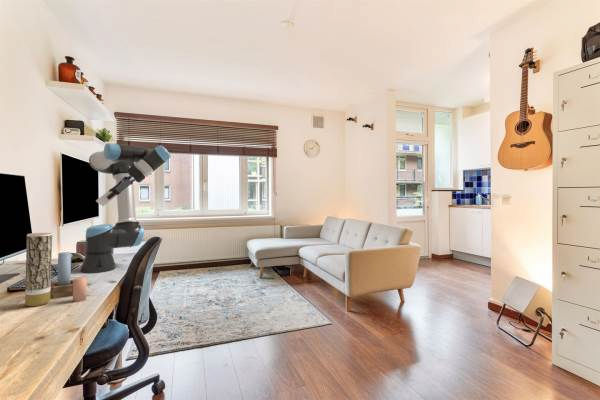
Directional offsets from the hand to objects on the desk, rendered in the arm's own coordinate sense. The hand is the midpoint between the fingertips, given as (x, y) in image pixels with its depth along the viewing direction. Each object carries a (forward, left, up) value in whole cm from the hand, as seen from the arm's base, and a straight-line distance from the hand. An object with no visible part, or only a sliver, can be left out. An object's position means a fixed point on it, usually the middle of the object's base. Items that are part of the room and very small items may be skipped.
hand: (99, 203), depth 127 cm
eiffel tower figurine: (-11, -41, -36) cm, 56 cm away
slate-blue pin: (+11, -4, -36) cm, 38 cm away
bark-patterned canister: (+22, -2, -36) cm, 42 cm away
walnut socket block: (+11, -4, -36) cm, 38 cm away
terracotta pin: (+15, +8, -36) cm, 40 cm away
